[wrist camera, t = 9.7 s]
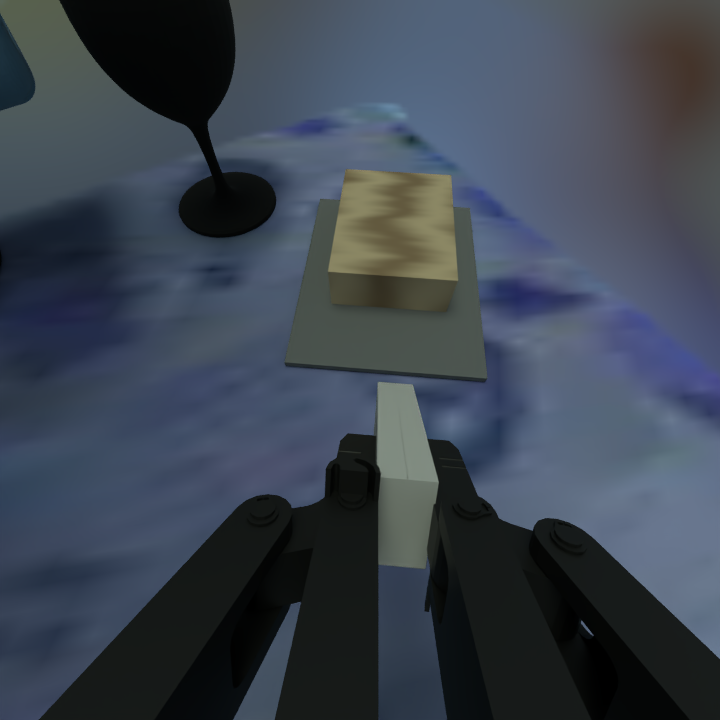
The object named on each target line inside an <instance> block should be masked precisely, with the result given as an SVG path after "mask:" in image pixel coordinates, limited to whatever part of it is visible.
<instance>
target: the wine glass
mask: <svg viewBox="0 0 720 720" xmlns="http://www.w3.org/2000/svg"><path fill="white" fill-rule="evenodd" d="M60 3H61V4H62V6H63V8H64V10H65V12H66V14H67V16H68V18H69V20H70V22H71V24H72V25H73V27H74V29H75V31H76V32H77V34H78V36H79V37H80V39H81V41H82V42H83V44H84V45H85V47H86V48H87V50H88V51H89V53H90V54H91V55H92V57H93V58H94V59H95V61H96V62H97V63H98V64H99V65H100V67H101V68H102V69H103V70H104V71H105V73H106V74H107V75H108V76H109V77H110V78H111V79H112V80H113V81H114V82H115V83H116V84H117V85H118V86H119V87H120V88H121V89H123V90H124V91H125V92H126V93H127V94H128V95H129V96H131V97H133V98H134V99H135V100H136V101H138V102H139V103H141V104H142V105H144V106H146V107H147V108H149V109H150V110H152V111H154V112H156V113H158V114H160V115H162V116H164V117H166V118H169V119H171V120H173V121H176V122H179V123H182V124H184V125H186V126H187V127H188V128H189V129H190V130H191V131H192V132H193V134H194V136H195V138H196V140H197V141H198V144H199V146H200V148H201V150H202V152H203V154H204V156H205V159H206V161H207V163H208V166H209V168H210V171H211V174H212V176H210V177H207V178H205V179H203V180H201V181H199V182H197V183H196V184H194V185H193V186H192V187H190V188H189V189H188V190H187V191H186V193H185V194H184V195H183V197H182V199H181V201H180V204H179V214H180V217H181V219H182V221H183V223H184V224H185V225H186V226H187V227H188V228H189V229H191V230H192V231H194V232H196V233H198V234H201V235H205V236H210V237H230V236H236V235H240V234H243V233H246V232H248V231H251V230H253V229H255V228H257V227H258V226H260V225H261V224H262V223H264V222H265V221H266V220H267V219H268V218H269V217H270V215H271V214H272V212H273V210H274V208H275V205H276V196H275V192H274V190H273V188H272V187H271V185H270V184H269V183H268V182H267V181H266V180H264V179H262V178H261V177H258V176H256V175H253V174H249V173H243V172H228V173H222V172H221V169H220V167H219V164H218V162H217V159H216V156H215V153H214V150H213V147H212V143H211V140H210V136H209V132H208V120H209V119H210V117H211V116H212V115H213V114H214V112H215V111H216V110H217V108H218V107H219V105H220V104H221V102H222V100H223V98H224V97H225V94H226V93H227V90H228V88H229V85H230V82H231V78H232V75H233V70H234V63H235V34H234V24H233V18H232V12H231V7H230V3H229V0H60Z"/></svg>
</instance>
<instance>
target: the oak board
mask: <svg viewBox="0 0 720 720" xmlns="http://www.w3.org/2000/svg"><path fill="white" fill-rule="evenodd" d="M328 277H329V286H330V294H331V303H332V304H342V305H355V306H369V307H383V308H396V309H410V310H424V311H437V312H446V311H447V308H448V305H449V303H450V300H451V298H452V295H453V293H454V290H455V287H456V285H457V282H458V271H457V257H456V242H455V227H454V213H453V198H452V183H451V175H436V174H419V173H401V172H384V171H367V170H350V169H346V171H345V177H344V183H343V188H342V194H341V200H340V205H339V211H338V217H337V223H336V228H335V234H334V240H333V245H332V251H331V257H330V263H329V268H328Z"/></svg>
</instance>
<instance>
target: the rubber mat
mask: <svg viewBox="0 0 720 720" xmlns="http://www.w3.org/2000/svg"><path fill="white" fill-rule="evenodd" d="M339 205H340V200H330V199H320V203H319V207H318V212H317V216H316V221H315V225H314V230H313V235H312V239H311V244H310V248H309V253H308V257H307V262H306V266H305V271H304V276H303V280H302V285H301V289H300V294H299V298H298V303H297V307H296V312H295V317H294V321H293V326H292V330H291V335H290V339H289V344H288V348H287V353H286V358H285V365H286V366H295V367H308V368H320V369H333V370H345V371H357V372H370V373H382V374H395V375H407V376H420V377H432V378H445V379H457V380H470V381H482V382H485V381H486V380H487V370H486V361H485V351H484V341H483V332H482V322H481V312H480V303H479V293H478V283H477V274H476V264H475V254H474V245H473V235H472V225H471V216H470V208H461V207H453V213H454V227H455V242H456V257H457V271H458V282H457V285H456V287H455V290H454V293H453V295H452V298H451V300H450V303H449V305H448V308H447V311H446V312H437V311H424V310H410V309H396V308H383V307H369V306H355V305H342V304H332V303H331V294H330V286H329V277H328V268H329V263H330V257H331V251H332V245H333V240H334V234H335V228H336V223H337V217H338V211H339Z"/></svg>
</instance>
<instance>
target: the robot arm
mask: <svg viewBox="0 0 720 720" xmlns="http://www.w3.org/2000/svg"><path fill="white" fill-rule="evenodd" d="M34 93H35V80H34V77H33V74H32V72H31V70H30V68H29V66H28V63H27V62H26V60H25V58H24V56H23V54H22V52H21V50H20V48H19V47H18V45H17V43H16V41H15V39H14V37H13V36H12V34H11V32H10V30H9V28H8V27H7V25H6V23H5V21H4V19H3V18H2V16H1V14H0V111H1V110H4V109H8V108H11V107H14V106H17V105H21V104H24V103H26V102H28V101H29V100H30V99H31V98H32V97H33V95H34ZM0 264H1V252H0ZM427 556H428V559H429V565H430V575H429V581H428V587H427V594H426V600H425V611H426V612H429V608H430V605H431V612H432V619H433V626H434V633H435V639H436V646H437V653H438V660H439V667H440V674H441V681H442V687H443V694H444V701H445V708H446V715H447V720H720V659H719V658H718V657H717V656H716V655H715V654H714V653H713V652H712V651H711V650H710V649H709V648H708V647H707V646H706V645H704V644H703V643H702V642H701V641H700V640H699V639H698V638H697V637H696V636H695V635H694V634H693V633H692V632H691V631H690V630H689V629H688V628H687V627H686V626H685V625H684V624H682V623H681V622H680V621H679V620H678V619H677V618H676V617H675V616H674V615H673V614H672V613H671V612H670V611H669V610H668V609H667V608H666V607H665V606H664V605H663V604H662V603H660V602H659V601H658V600H657V599H656V598H655V597H654V596H653V595H652V594H651V593H650V592H649V591H648V590H647V589H646V588H645V587H644V586H643V585H642V584H641V583H640V582H638V581H637V580H636V579H635V578H634V577H633V576H632V575H631V574H630V573H629V572H628V571H627V570H626V569H625V568H624V567H623V566H622V565H621V564H620V563H619V562H618V561H617V560H615V559H614V558H613V557H612V556H611V555H610V554H609V553H608V552H607V551H606V550H605V549H604V548H603V547H602V546H601V545H600V544H599V543H598V542H597V541H596V540H595V539H593V538H592V537H591V536H590V535H589V534H587V533H586V532H585V531H583V530H582V529H580V528H578V527H577V526H575V525H573V524H571V523H569V522H565V521H562V520H559V519H551V518H545V519H542V520H539V521H538V522H537V523H536V524H535V526H534V529H533V531H531V530H528V529H525V528H522V527H519V526H516V525H513V524H510V523H508V522H505V521H503V520H501V519H499V518H498V515H497V513H496V511H495V510H494V509H493V507H492V506H491V505H490V504H489V503H488V502H487V501H485V500H484V499H483V498H481V497H479V496H478V495H477V493H476V490H475V488H474V485H473V483H472V481H471V478H470V476H469V474H468V471H467V469H466V466H465V464H464V462H463V461H462V457H461V454H460V452H459V450H458V449H457V448H456V447H455V446H454V445H453V444H452V443H451V442H450V441H445V440H433V439H427V436H426V433H425V429H424V425H423V422H422V418H421V414H420V410H419V407H418V403H417V399H416V395H415V392H414V388H413V385H409V384H396V383H383V382H378V388H377V400H376V413H375V425H374V436H372V435H360V434H347V435H346V436H345V437H344V438H343V439H342V440H341V441H340V445H339V450H338V454H337V458H336V459H334V460H333V461H331V462H330V463H329V464H328V466H327V468H326V481H325V497H324V498H323V499H322V500H320V501H319V502H317V503H314V504H312V505H308V506H304V507H299V508H291V505H290V504H289V502H288V501H287V500H286V499H284V498H282V497H280V496H277V495H269V494H267V495H260V496H255V497H253V498H251V499H248V500H246V501H245V502H243V503H242V504H241V505H240V506H238V507H237V508H236V509H235V510H234V512H233V513H232V514H231V515H230V516H229V517H228V518H227V519H226V520H225V521H224V522H223V523H222V524H221V525H220V527H219V528H218V529H217V530H216V531H215V532H214V533H213V534H212V535H211V536H210V537H209V538H208V539H207V540H206V542H205V543H204V544H203V545H202V546H201V547H200V548H199V549H198V550H197V551H196V552H195V553H194V554H193V555H192V556H191V558H190V559H189V560H188V561H187V562H186V563H185V564H184V565H183V566H182V567H181V568H180V569H179V570H178V571H177V573H176V574H175V575H174V576H173V577H172V578H171V579H170V580H169V581H168V582H167V583H166V584H165V585H164V586H163V588H162V589H161V590H160V591H159V592H158V593H157V594H156V595H155V596H154V597H153V598H152V599H151V600H150V601H149V602H148V604H147V605H146V606H145V607H144V608H143V609H142V610H141V611H140V612H139V613H138V614H137V615H136V616H135V617H134V619H133V620H132V621H131V622H130V623H129V624H128V625H127V626H126V627H125V628H124V629H123V630H122V631H121V632H120V634H119V635H118V636H117V637H116V638H115V639H114V640H113V641H112V642H111V643H110V644H109V645H108V646H107V647H106V648H105V650H104V651H103V652H102V653H101V654H100V655H99V656H98V657H97V658H96V659H95V660H94V661H93V662H92V663H91V665H90V666H89V667H88V668H87V669H86V670H85V671H84V672H83V673H82V674H81V675H80V676H79V677H78V678H77V680H76V681H75V682H74V683H73V684H72V685H71V686H70V687H69V688H68V689H67V690H66V691H65V692H64V693H63V694H62V696H61V697H60V698H59V699H58V700H57V701H56V702H55V703H54V704H53V705H52V706H51V707H50V708H49V709H48V711H47V712H46V713H45V714H44V715H43V716H42V717H41V718H40V719H39V720H233V719H234V717H235V715H236V713H237V711H238V709H239V707H240V705H241V703H242V701H243V699H244V697H245V695H246V693H247V691H248V689H249V687H250V685H251V683H252V681H253V679H254V677H255V675H256V673H257V671H258V669H259V667H260V665H261V664H262V662H263V660H264V658H265V656H266V654H267V652H268V650H269V648H270V646H271V644H272V642H273V640H274V638H275V636H276V634H277V632H278V630H279V628H280V626H281V624H282V622H283V620H284V618H285V616H286V614H287V612H288V610H289V608H290V605H291V604H293V603H297V602H301V606H300V610H299V615H298V619H297V624H296V628H295V632H294V637H293V641H292V646H291V650H290V655H289V659H288V664H287V668H286V672H285V677H284V681H283V686H282V690H281V695H280V699H279V704H278V708H277V712H276V717H275V720H378V565H389V566H399V567H409V568H420V569H426V562H427ZM581 621H583V622H584V624H585V625H586V626H587V627H588V629H589V630H590V631H591V633H592V634H593V635H594V636H592V635H591V634H590V633H589V632H588V631H587V630H586V629H585V628H584V627H583V625H582V624H581Z"/></svg>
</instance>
